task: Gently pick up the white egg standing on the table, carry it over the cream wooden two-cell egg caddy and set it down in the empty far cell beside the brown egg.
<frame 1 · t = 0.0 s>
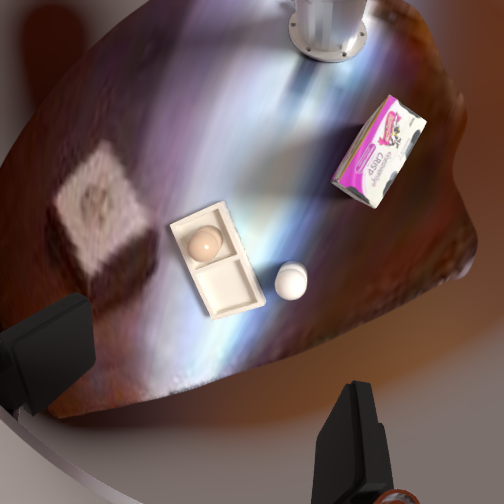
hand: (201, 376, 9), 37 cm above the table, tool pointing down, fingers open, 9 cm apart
white egg: (292, 274, 46), on the table
brown egg: (209, 239, 47), point 1 cm above the table, tilted 8°, touching caddy
caddy: (219, 261, 48), on the table
candy bar box: (359, 160, 40), on the table
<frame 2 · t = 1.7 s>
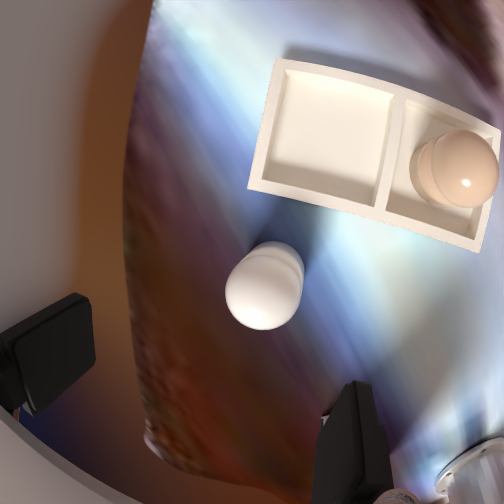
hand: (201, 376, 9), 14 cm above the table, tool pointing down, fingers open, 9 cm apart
white egg: (274, 271, 22), on the table
brown egg: (436, 172, 17), point 1 cm above the table, touching caddy
caddy: (385, 153, 18), on the table
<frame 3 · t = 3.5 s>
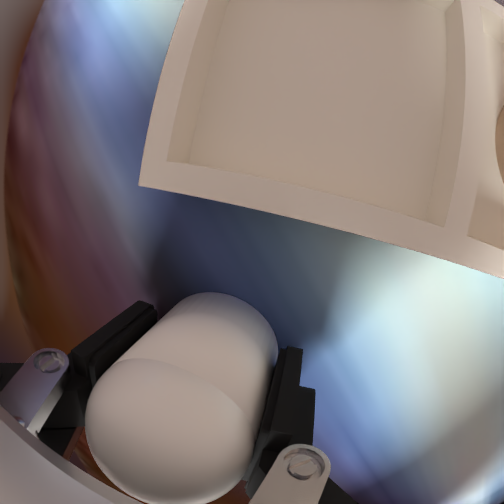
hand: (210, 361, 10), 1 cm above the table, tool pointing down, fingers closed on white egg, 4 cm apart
white egg: (218, 347, 11), on the table, touching gripper
caddy: (448, 108, 7), on the table
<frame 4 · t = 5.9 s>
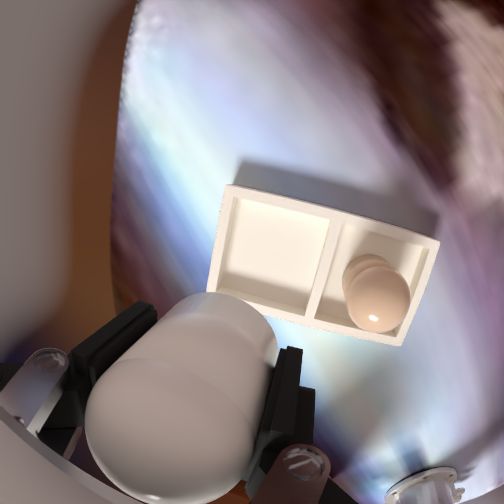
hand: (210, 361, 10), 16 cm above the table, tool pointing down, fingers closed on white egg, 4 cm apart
white egg: (218, 347, 11), point 15 cm above the table, touching gripper
brown egg: (368, 281, 23), point 1 cm above the table, touching caddy
caddy: (322, 265, 24), on the table
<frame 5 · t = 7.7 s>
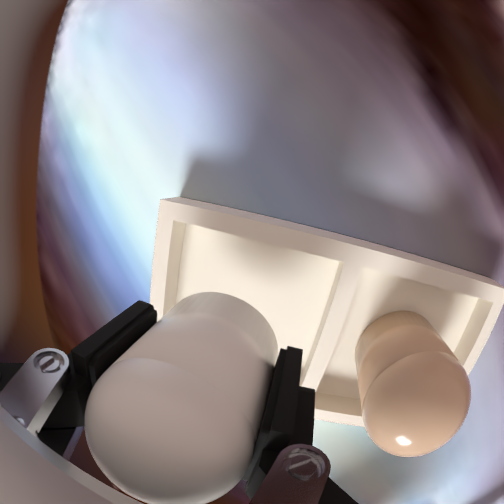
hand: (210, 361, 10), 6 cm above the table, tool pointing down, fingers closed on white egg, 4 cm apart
white egg: (218, 346, 11), point 4 cm above the table, touching gripper
brown egg: (396, 351, 13), point 1 cm above the table, touching caddy
caddy: (325, 326, 15), on the table
when the fingers open (3 cm above the table, at t = 8.6 s): white egg drops 2 cm, resting on caddy.
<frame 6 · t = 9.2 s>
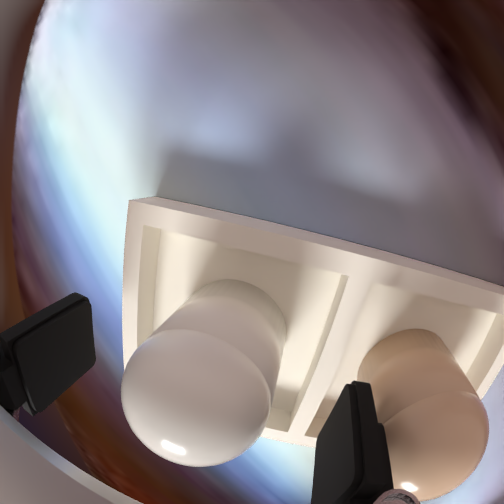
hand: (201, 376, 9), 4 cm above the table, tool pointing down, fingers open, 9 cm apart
white egg: (233, 329, 12), point 1 cm above the table, touching caddy
brown egg: (403, 371, 11), point 1 cm above the table, touching caddy, gripper
caddy: (324, 346, 12), on the table
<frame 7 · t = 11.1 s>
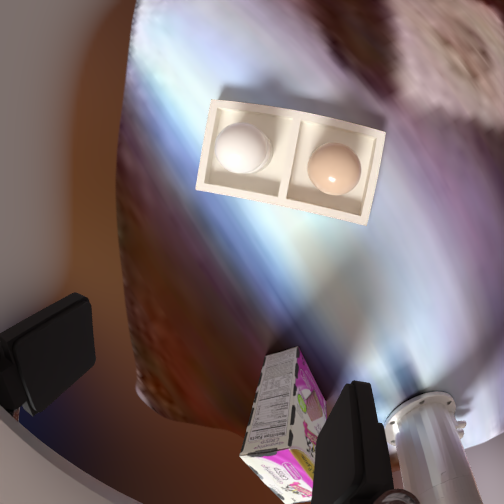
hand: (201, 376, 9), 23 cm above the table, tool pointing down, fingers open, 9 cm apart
white egg: (250, 151, 29), point 1 cm above the table, touching caddy
brown egg: (329, 169, 28), point 1 cm above the table, touching caddy
caddy: (290, 158, 29), on the table
candy bar box: (298, 378, 36), on the table
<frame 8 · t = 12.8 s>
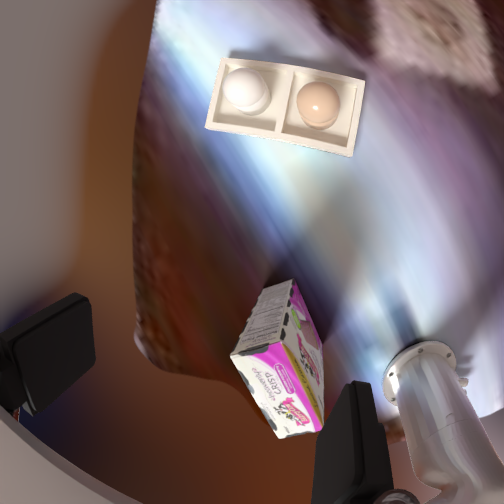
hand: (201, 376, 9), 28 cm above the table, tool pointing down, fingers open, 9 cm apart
white egg: (252, 98, 32), point 1 cm above the table, touching caddy
brown egg: (318, 111, 31), point 1 cm above the table, touching caddy
caddy: (285, 104, 32), on the table
candy bar box: (294, 317, 39), on the table
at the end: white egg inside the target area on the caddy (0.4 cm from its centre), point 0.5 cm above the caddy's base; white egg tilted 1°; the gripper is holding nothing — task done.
